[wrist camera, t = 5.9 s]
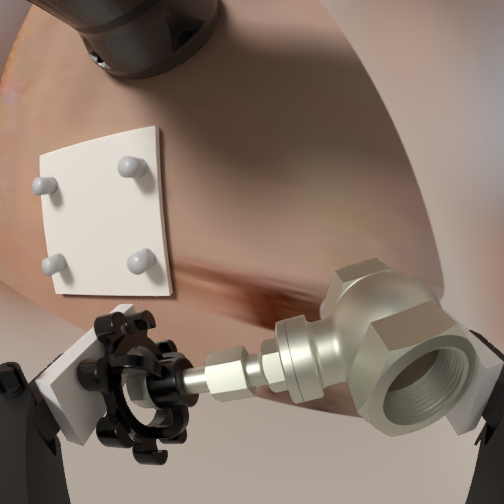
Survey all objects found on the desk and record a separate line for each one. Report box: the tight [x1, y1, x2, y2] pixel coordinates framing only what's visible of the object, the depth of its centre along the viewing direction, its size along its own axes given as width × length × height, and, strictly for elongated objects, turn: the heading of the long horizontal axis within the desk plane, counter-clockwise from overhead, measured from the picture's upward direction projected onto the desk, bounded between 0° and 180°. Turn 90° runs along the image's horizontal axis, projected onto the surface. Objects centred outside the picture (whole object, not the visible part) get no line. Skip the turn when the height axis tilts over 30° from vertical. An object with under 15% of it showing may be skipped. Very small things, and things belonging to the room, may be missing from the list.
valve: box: [77, 258, 480, 465], centre depth 9 cm, size 7×7×12 cm
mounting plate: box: [32, 126, 173, 296], centre depth 27 cm, size 17×16×4 cm
